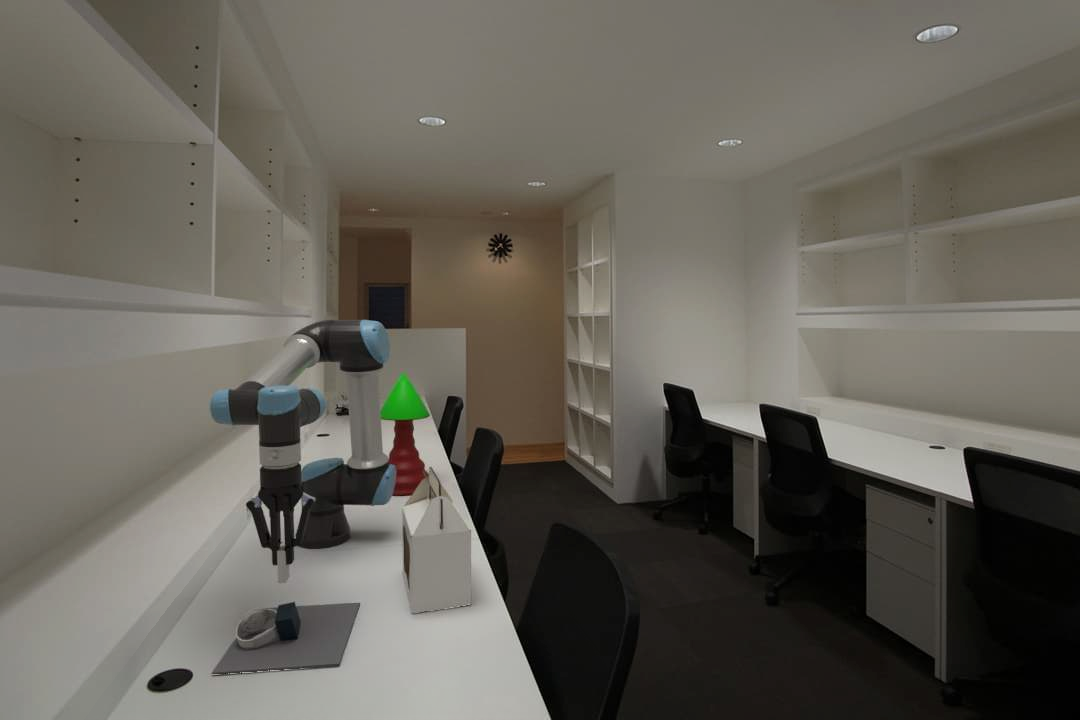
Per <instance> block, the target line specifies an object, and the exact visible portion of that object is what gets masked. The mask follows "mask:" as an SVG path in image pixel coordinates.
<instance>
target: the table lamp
mask: <svg viewBox="0 0 1080 720" xmlns="http://www.w3.org/2000/svg"><path fill="white" fill-rule="evenodd" d="M380 413H381V420H384V421H393V422H394V426H393V432H394V437H393V440H392V441H393V442H392V443H393V446H392V449H391V450H390V451H389V453H388V458H389V465H390V464H392V465H395V467H396V482H395V487H394V491H393V494H392V496H409V495H410V496H411V495H412V494H413V492H414V491H415V489H416V488H417V486H418V485H419V483H420V482H421V481H422V480H423V479H424V478H426V477H428V476H429V471H427V470H425V468H426V464H425V462H424V461H423V460H422V459H421V458H420V451H419V450H418V449H417V448H416V440H415V438H414V430H415V427H414V426H415V425H414V423H413V422H414V420H415V421H416V420H418V421H419V420H422V419H427V418H429V417H430V416H431V414H430V412H429V410H428V409H427V407H426V405H425V403H424V402H423V399H422V397H421V396H420V395H419V392H418V391H417V389H416V388H415V386H414V385H413V383H412V382H411V380H410V379H409V377H408V376H407V375H406V374H405V372H404V371H403V373H402V374H401V375H400V376H399V378H398V380H397V382H396V383H395V384H394V386H393V387H392V389H391V391H390V392H389V394H388V396H387V398H386V400H385V401H384V402H383V405H382V407H380ZM423 471H424V473H425V475H426V477H425V475H424V473H423Z"/></svg>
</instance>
